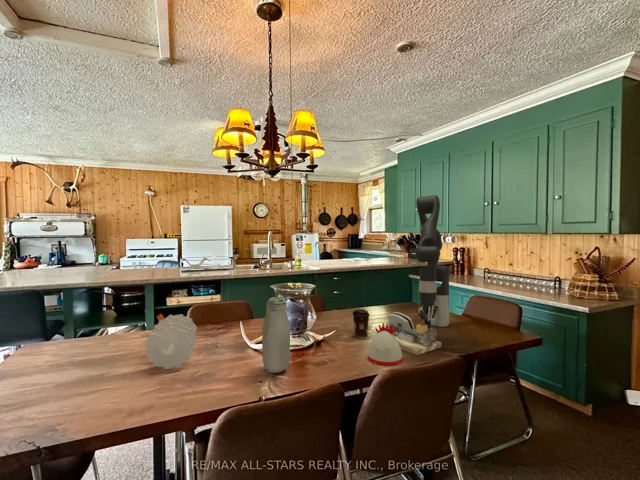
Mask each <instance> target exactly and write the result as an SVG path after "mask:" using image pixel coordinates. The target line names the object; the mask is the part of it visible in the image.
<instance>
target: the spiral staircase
mask: <svg viewBox="0 0 640 480" xmlns="http://www.w3.org/2000/svg"><path fill="white" fill-rule="evenodd" d="M198 329H199V328H198V327H197V325H196V324H195V323H194V322H193V318H190V317H187V316H185V315H184V314H182V313H181V314H175V315H173V314H169V315H168V316H167V317H165V318H164V319H163V320H162V319H159V321H158V323H157V324H155V325H154V327H153V330H152V332H150V333H149V335H148V337H147V338H146V340H145V342H144V346H145V349H146V352H147V354H145V357H146V358H147V359H148V360H150V362H152V363H153V365H152V366H153V367H157V368H158V367H159V368H163V369H164V370H165V369H167V370H169V369H171V368H175V367H176V368H178V369H179V368H180V367H181V366H182V365H183V364H184V362H185V361H190V357H191V356H192V355H193V351H194V346H195V342H197V339H198V337H197V330H198Z"/></svg>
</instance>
